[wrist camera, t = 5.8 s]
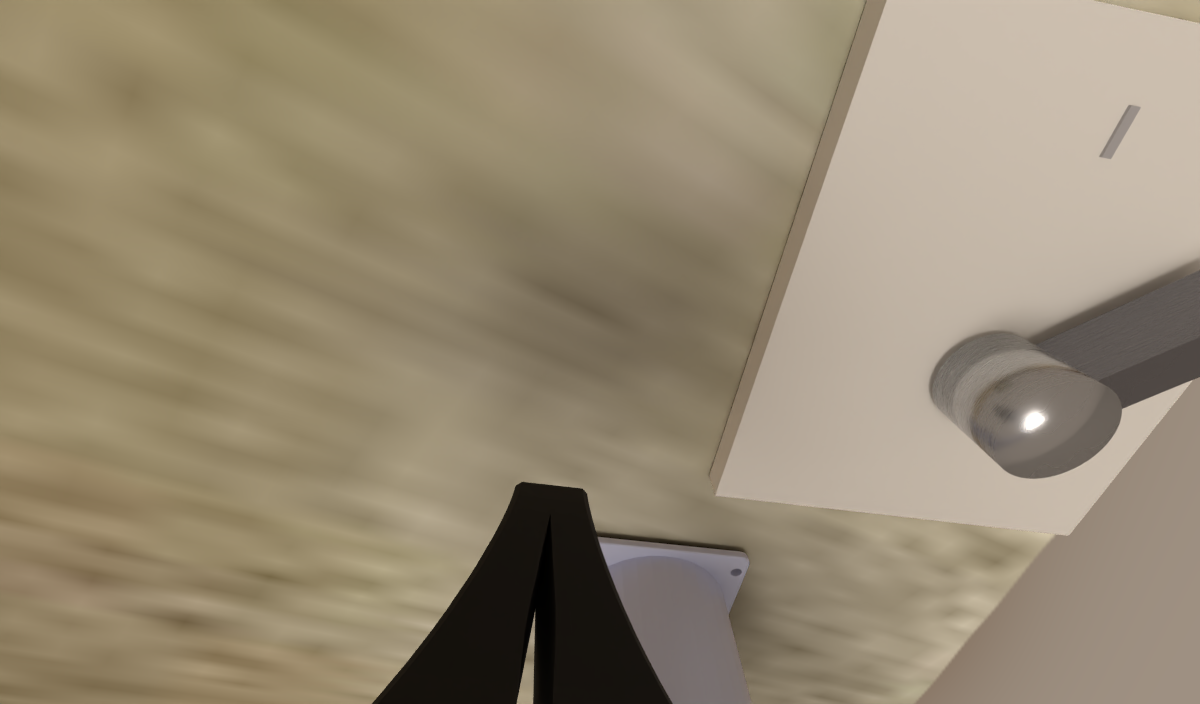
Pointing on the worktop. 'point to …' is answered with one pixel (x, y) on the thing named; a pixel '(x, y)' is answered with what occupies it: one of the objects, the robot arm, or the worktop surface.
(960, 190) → the dial panel
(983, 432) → the dial lever
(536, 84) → the worktop surface
